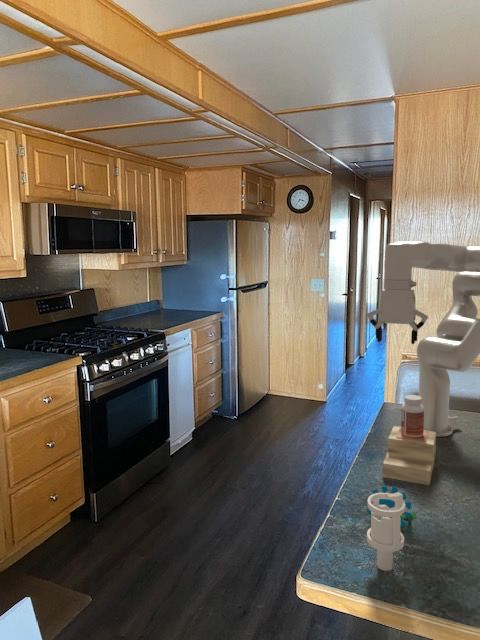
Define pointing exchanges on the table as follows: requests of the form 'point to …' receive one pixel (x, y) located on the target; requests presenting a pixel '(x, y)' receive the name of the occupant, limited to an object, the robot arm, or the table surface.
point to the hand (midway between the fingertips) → (396, 342)
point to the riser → (410, 457)
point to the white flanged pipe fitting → (385, 528)
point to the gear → (390, 504)
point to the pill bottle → (412, 416)
